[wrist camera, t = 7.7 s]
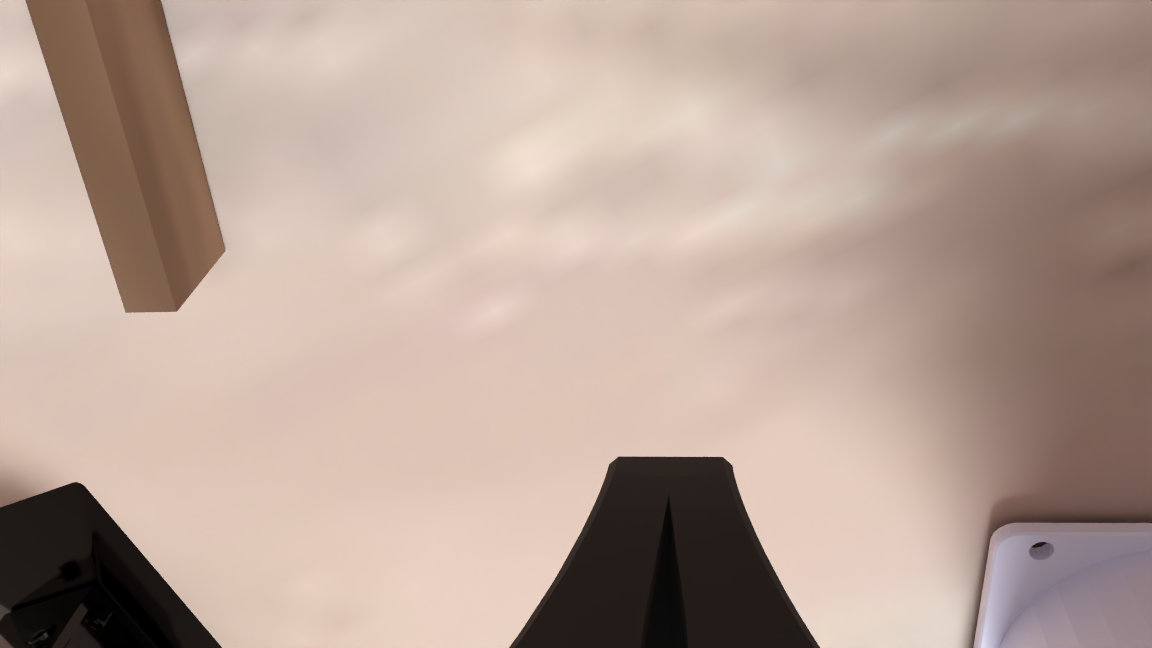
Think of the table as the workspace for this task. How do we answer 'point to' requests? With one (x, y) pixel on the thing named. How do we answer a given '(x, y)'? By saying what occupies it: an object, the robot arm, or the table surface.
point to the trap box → (132, 144)
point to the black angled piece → (83, 581)
